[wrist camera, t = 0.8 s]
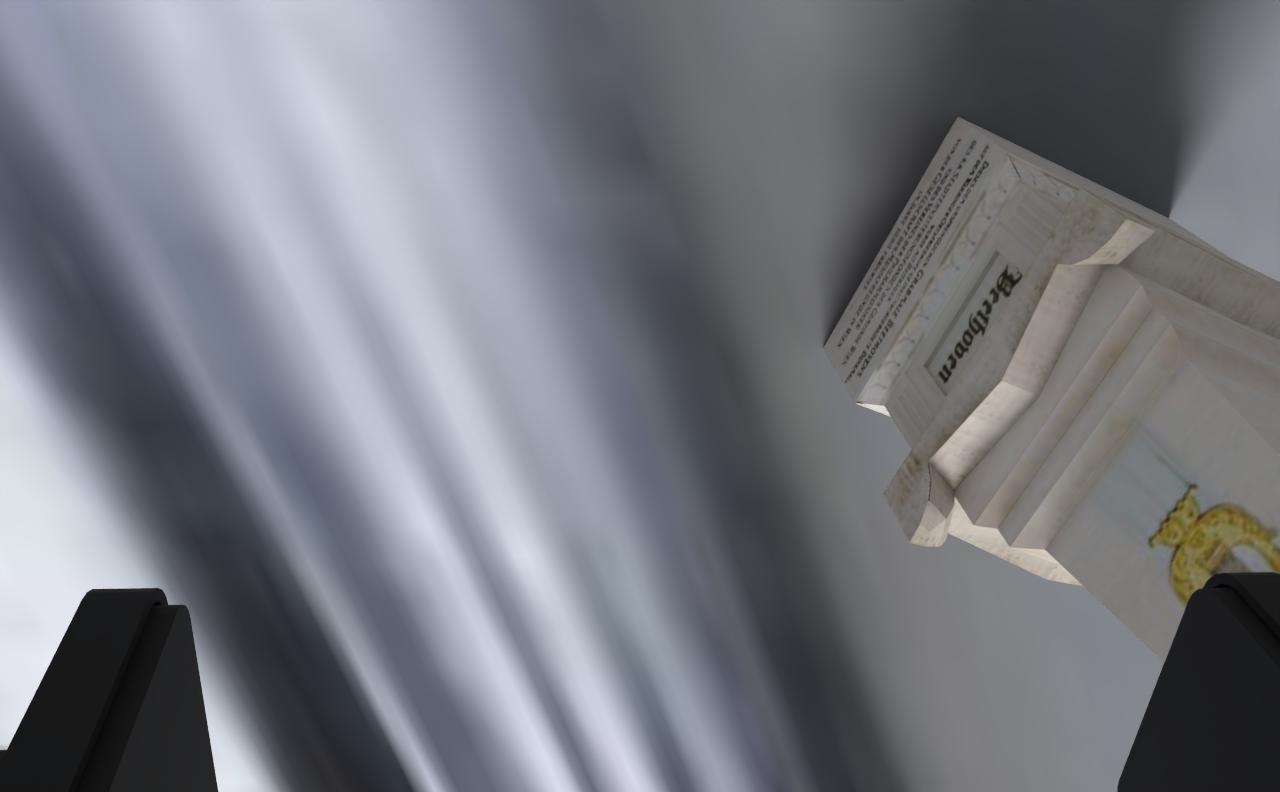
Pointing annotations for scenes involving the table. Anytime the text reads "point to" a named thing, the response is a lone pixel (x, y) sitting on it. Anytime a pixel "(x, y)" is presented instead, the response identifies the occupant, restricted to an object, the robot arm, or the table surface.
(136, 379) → the table surface
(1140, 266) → the miniature monument
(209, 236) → the table surface
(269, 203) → the table surface
